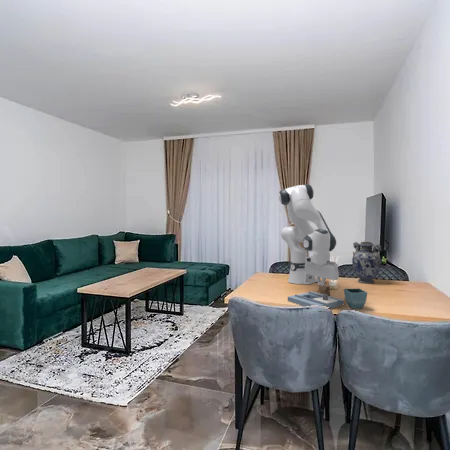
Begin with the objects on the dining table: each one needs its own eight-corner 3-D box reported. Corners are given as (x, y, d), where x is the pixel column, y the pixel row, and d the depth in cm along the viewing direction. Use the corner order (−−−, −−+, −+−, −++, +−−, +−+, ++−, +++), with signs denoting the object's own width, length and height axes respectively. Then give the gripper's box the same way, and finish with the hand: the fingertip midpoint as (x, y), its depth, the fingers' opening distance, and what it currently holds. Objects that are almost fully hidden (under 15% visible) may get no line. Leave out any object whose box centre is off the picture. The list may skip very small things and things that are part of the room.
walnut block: (323, 295, 195) (324, 285, 195) (330, 296, 191) (330, 286, 191) (318, 296, 193) (319, 286, 192) (325, 297, 189) (325, 287, 189)
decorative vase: (388, 282, 226) (388, 242, 225) (373, 286, 216) (373, 244, 214) (360, 277, 244) (360, 240, 243) (345, 281, 234) (345, 242, 232)
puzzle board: (312, 295, 193) (312, 290, 193) (343, 304, 175) (344, 298, 175) (287, 301, 182) (287, 295, 182) (318, 311, 164) (318, 304, 164)
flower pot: (343, 305, 175) (343, 288, 174) (358, 304, 175) (359, 288, 175) (350, 310, 166) (351, 292, 166) (367, 309, 167) (367, 292, 166)
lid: (324, 297, 179) (324, 291, 179) (337, 301, 172) (337, 295, 172) (312, 300, 174) (312, 294, 174) (326, 304, 167) (326, 298, 167)
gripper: (341, 261, 169) (341, 288, 170) (310, 256, 185) (310, 280, 186) (333, 263, 165) (333, 290, 166) (302, 257, 182) (302, 282, 183)
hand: (321, 285), depth 176 cm, fingers closed
